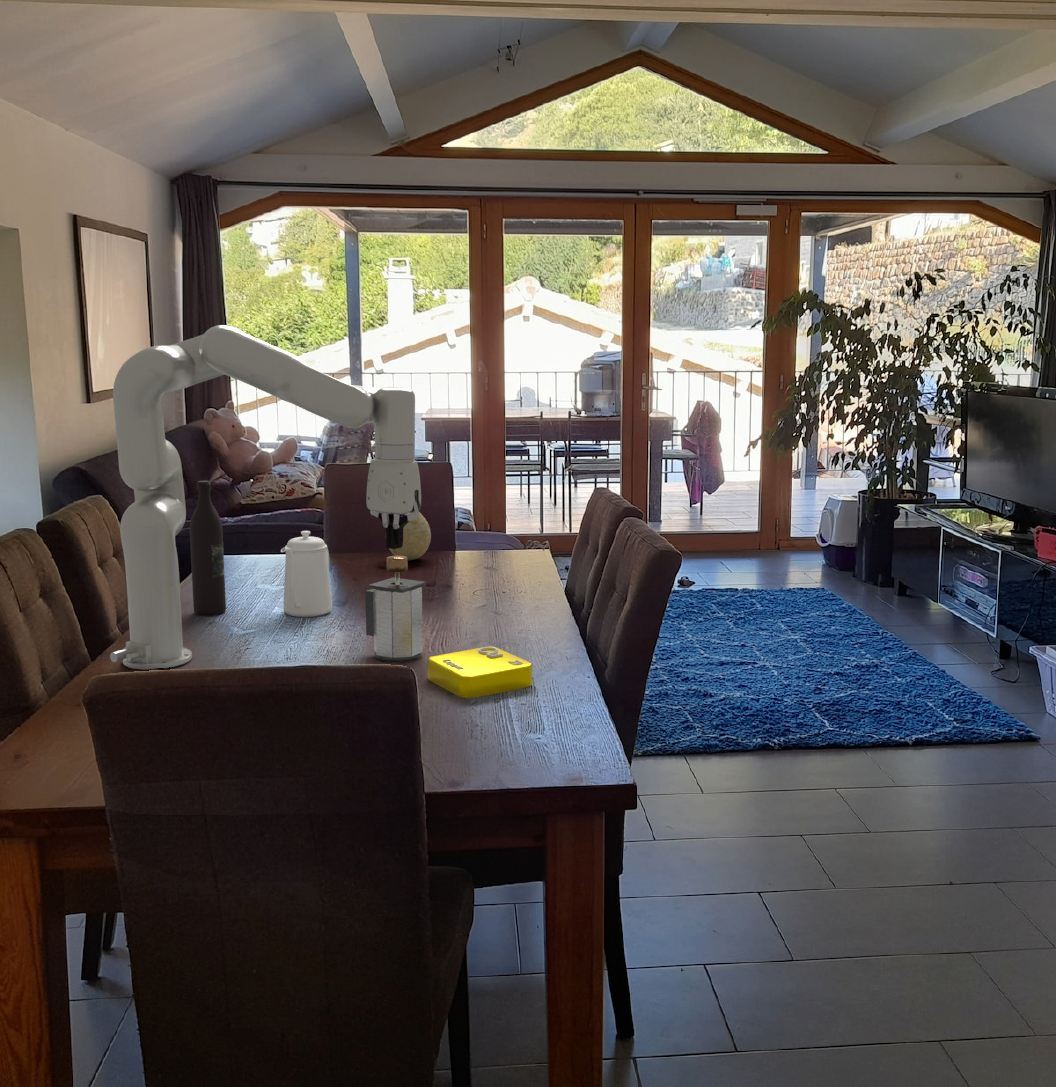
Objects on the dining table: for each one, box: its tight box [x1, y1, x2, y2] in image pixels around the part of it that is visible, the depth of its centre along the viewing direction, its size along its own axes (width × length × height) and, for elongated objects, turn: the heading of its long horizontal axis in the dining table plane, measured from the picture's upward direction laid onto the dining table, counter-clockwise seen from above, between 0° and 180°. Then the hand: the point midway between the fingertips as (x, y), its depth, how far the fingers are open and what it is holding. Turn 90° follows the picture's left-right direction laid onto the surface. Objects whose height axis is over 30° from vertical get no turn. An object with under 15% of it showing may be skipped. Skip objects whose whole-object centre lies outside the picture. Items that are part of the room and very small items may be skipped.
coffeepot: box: [280, 530, 333, 618], centre depth 245 cm, size 11×25×19 cm, turn 168°
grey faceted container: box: [364, 577, 427, 663], centre depth 212 cm, size 9×12×15 cm
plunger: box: [386, 555, 409, 585], centre depth 211 cm, size 7×7×14 cm
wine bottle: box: [189, 480, 227, 617], centre depth 243 cm, size 7×7×30 cm
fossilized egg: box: [389, 511, 432, 561], centre depth 306 cm, size 13×13×15 cm
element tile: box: [427, 645, 533, 699], centre depth 197 cm, size 15×15×5 cm
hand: (394, 547), depth 209 cm, fingers closed
